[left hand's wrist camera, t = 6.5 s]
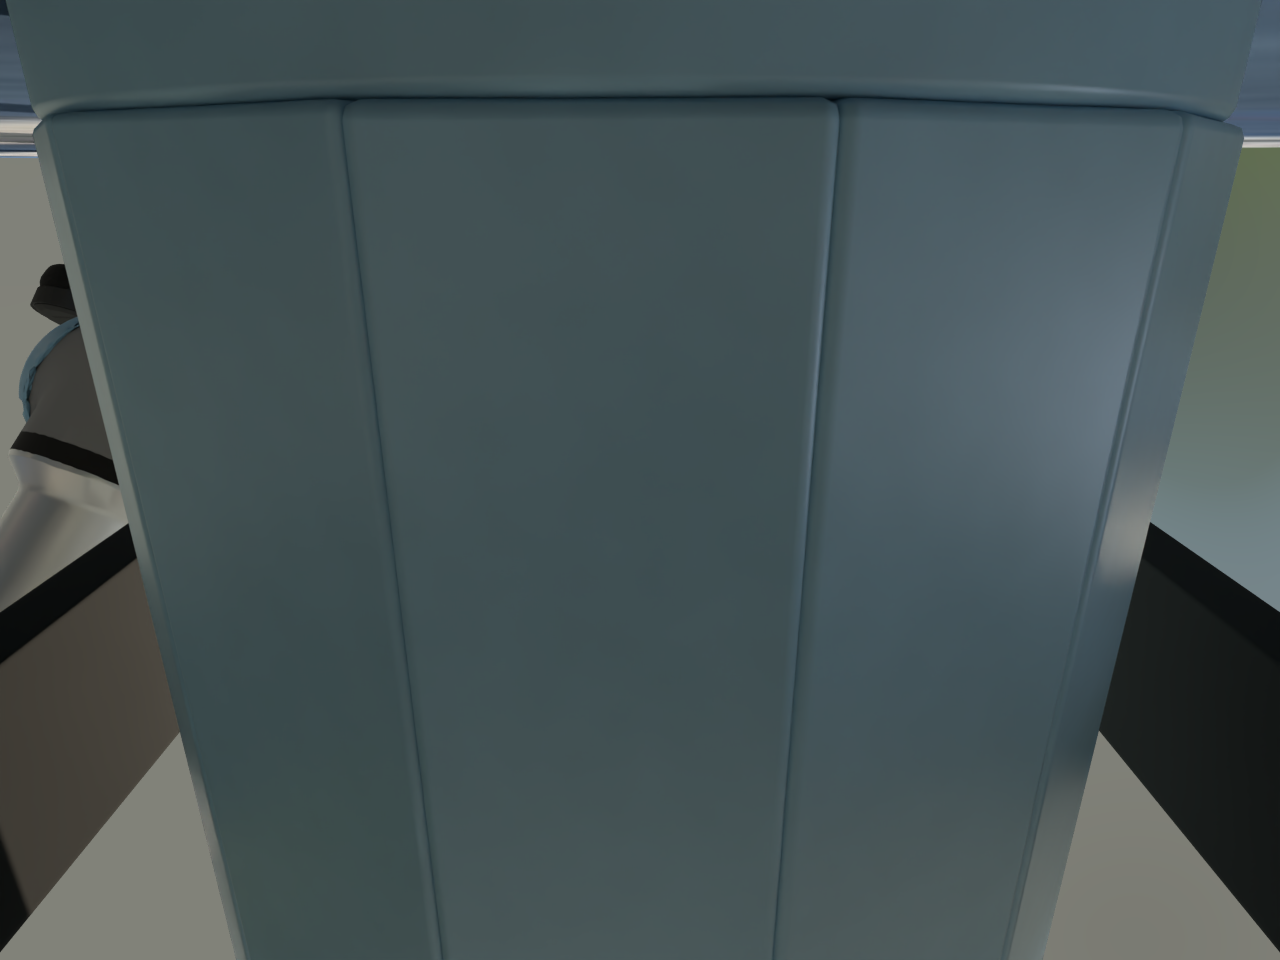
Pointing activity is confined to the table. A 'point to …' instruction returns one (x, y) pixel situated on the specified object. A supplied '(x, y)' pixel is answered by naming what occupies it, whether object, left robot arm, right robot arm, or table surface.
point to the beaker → (638, 444)
